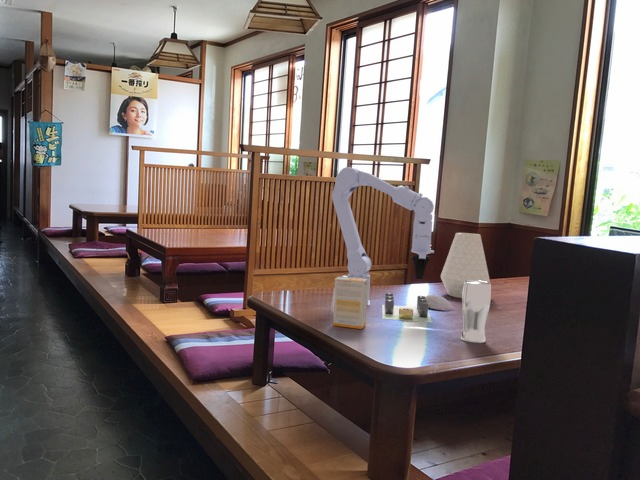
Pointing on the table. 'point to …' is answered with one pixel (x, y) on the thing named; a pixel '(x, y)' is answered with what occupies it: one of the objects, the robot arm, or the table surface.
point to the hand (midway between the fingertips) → (419, 278)
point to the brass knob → (406, 313)
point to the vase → (464, 263)
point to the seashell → (438, 303)
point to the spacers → (421, 305)
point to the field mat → (396, 317)
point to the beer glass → (475, 310)
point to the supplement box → (350, 302)
